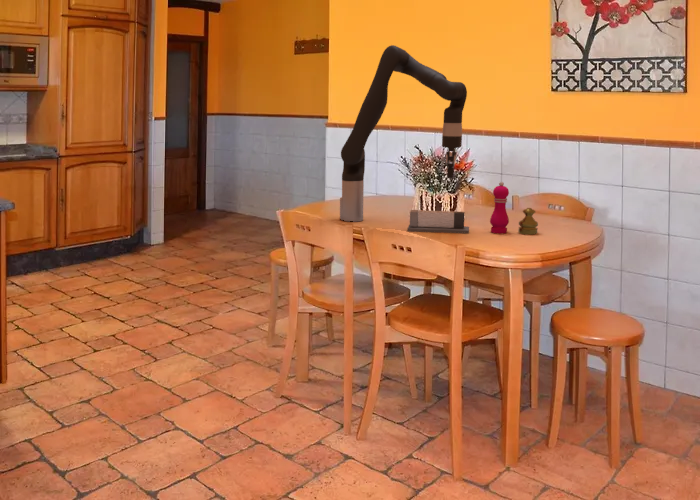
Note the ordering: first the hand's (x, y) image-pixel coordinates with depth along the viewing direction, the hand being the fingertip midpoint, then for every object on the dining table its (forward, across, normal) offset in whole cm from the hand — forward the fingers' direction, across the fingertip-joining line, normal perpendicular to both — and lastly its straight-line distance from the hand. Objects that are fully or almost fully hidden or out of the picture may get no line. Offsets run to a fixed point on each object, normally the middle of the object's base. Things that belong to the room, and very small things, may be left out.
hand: (450, 176), depth 274 cm
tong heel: (+20, 0, +14) cm, 24 cm away
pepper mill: (+22, +1, -20) cm, 29 cm away
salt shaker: (+22, +2, -31) cm, 38 cm away
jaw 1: (+20, +1, +3) cm, 20 cm away
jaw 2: (+20, -1, +3) cm, 20 cm away
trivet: (+22, 0, +4) cm, 22 cm away
